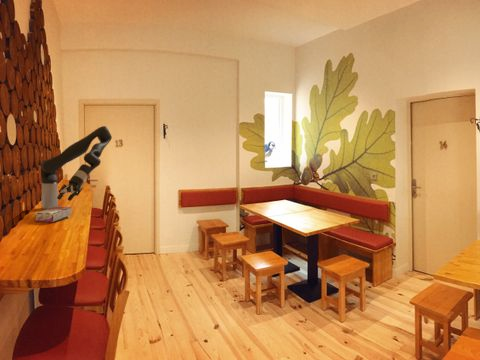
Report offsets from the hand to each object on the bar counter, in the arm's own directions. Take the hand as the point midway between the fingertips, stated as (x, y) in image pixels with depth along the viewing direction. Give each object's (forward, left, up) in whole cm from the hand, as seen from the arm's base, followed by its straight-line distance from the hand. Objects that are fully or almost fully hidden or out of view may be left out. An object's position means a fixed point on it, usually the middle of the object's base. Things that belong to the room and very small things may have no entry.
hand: (63, 199), depth 205 cm
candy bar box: (0, 0, -7) cm, 7 cm away
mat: (+1, -9, -11) cm, 14 cm away
